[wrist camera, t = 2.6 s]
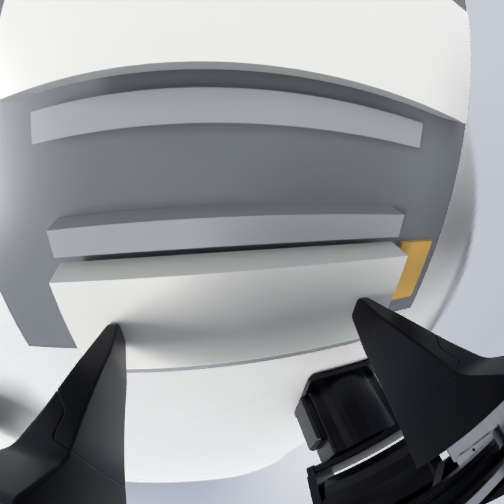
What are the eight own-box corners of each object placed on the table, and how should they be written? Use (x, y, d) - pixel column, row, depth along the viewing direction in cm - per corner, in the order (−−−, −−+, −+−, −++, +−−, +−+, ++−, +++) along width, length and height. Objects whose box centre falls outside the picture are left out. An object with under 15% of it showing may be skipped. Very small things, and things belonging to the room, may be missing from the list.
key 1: (391, 241, 11) (408, 255, 10) (364, 317, 13) (376, 333, 12) (60, 262, 8) (48, 282, 7) (93, 347, 10) (89, 369, 9)
